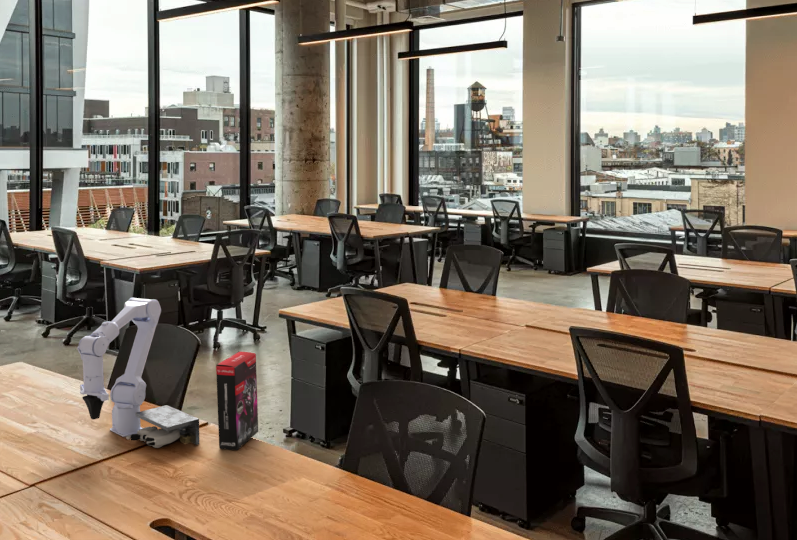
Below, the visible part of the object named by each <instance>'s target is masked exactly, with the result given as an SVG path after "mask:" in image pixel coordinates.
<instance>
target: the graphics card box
mask: <svg viewBox="0 0 797 540" xmlns="http://www.w3.org/2000/svg"><path fill="white" fill-rule="evenodd" d="M215 370H216V397H217V400H216V401H217V421H218V423H217V424H218V426H217V427H218V448H219V449H220V450H227V451H228V450H229V451H238V450H239V449H240V448H242V447H243V446H244V445H245V444H246V443H247V442H248V441H250V439H252V438H253V437H254V436H255V435H256V434H257V433H258V432H259V413H258V412H259V410H258V409H259V408H258V381H257V379H258V378H257V354H256V353H255V352H250V351H239V350H238V351H237V352H236V353H234V354H233V355H230V356H228V357H227V358H226V359H224V360H222V361H220V362H218V363H216V366H215Z"/></svg>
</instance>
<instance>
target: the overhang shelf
mask: <svg viewBox="0 0 797 540" xmlns="http://www.w3.org/2000/svg"><path fill="white" fill-rule="evenodd" d="M136 417H138V418H140V420H143V421H145V422H147V423H149V424H151V425H154V426H156V427H157V428H159V429H164V430H166V431H170V430H174V429H177V428H178V429H179V430H182V429H185V430H182V431H180V437H179V442H180V443H182V444H184V445H187V444H190V443H191V444H192V445H196V446H198V445H200V441H201V440H200V418H198V417H196V416H194V415H192V414H188V413H187V412H184V411H181V410H180V409H177V408H175V407H173V406H171V405H167V404H166V405H162V406H161V405H160V406H158V407H153V408H150V409H144V410H140V412H137V413H136Z"/></svg>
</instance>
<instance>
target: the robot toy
mask: <svg viewBox="0 0 797 540" xmlns="http://www.w3.org/2000/svg"><path fill="white" fill-rule="evenodd" d="M141 428H142V429H140V430H138V431H137V434H132V435H130V436H126V437H125V438H126V440H131V442H132V441H135V442H137V441H139V440H140V442H141V441H144V442H143V443H145V444H146V445H147V446H150V447H151V446H152V447H153V448H155V449H159V448H162V447H163V446H166V445H169V444H171V443H173V442H176V441H177V440H179V439H180V431H182V430H185V429H182V430H179V429H178V428H177V429H174V430H170V431H166V430H164V429H162V428H159V427H157V426H155V425H154V426H145V427H141ZM145 441H146V442H145Z"/></svg>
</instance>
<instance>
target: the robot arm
mask: <svg viewBox="0 0 797 540" xmlns="http://www.w3.org/2000/svg"><path fill="white" fill-rule="evenodd" d="M161 313H162V308H161V305H160V301H158V299H154V298H153V299H149V298H140V297H138V298H137V297H133V296H132V297H129V299H128V300H127V301H125V302H124V307H123V308H122V310H120V311H119V312H118V314H116V316H115V317H114V318H113V319H112V320H111V321H110V320H109V321H108V320H107V321H103V322H102V323H101V325H100V326H99V327H98V328H96V329H95V330H94V331H92V333H90V335H85V336H83V337H82V338H81V339H80V340H79V342H78V346H77V347H76V348H77V352H78V354H79V355H80V360H81V361H82V375H83V376H82V377H83V383H82V384H80V385H79V394H80V395H83V396H82V400H83V401H84V403H85V405H86V407H87V410H88V414H89V416H90V419H91V420H96V419H99V418H100V416H101V412H102V407H103V405H104V402H105V401H109V396H110V401H111V402H113V403H114V404H113V405H114V406H113V407H112V409H111V424H112V426H111V428H109V430H110V431H111V432H113V433H114V434H117V435H118V436H121V437H123V438H126V437H127V436H131V435H132V434H137V431H138V430H140V429H142V428H143V427H142V426H141V425H142V424H141V419H140V418H138V417H136V413H137V412H141V406H142V405H143V403H144V401H145V399H146V388H147V384H146V382H145V381H144V380H143V378H142V375H143V372H144V369H145V366H146V362H147V358H148V355H149V351H150V349H151V344H152V342H153V338H154V335H155V331H156V328H157V326H158V323H159V319H160V316H161ZM130 322H133V324H135V326H136V327H137V332H136V334H135V337H134V341H133V344H132V347H131V350H130V354H129V358H128V361H127V364H126V367H125V370H124V373H123V374H122V375H121V376H119V377H117V378H116V380H115V383H114V385H113V386H112V387H111V390H110V393H108V392H107V390H106V388H105V383H104V382H105V381H104V380H105V379H104V378H105V377H104V355H105V354H106V352H107V349H108V347H109V346H110V343H111V342H113V341H114V340H115V339H116V338H117V337H118V336H119V335H120V330H121V328H123V327H124V326H125V325H127V324H129V323H130Z"/></svg>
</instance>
